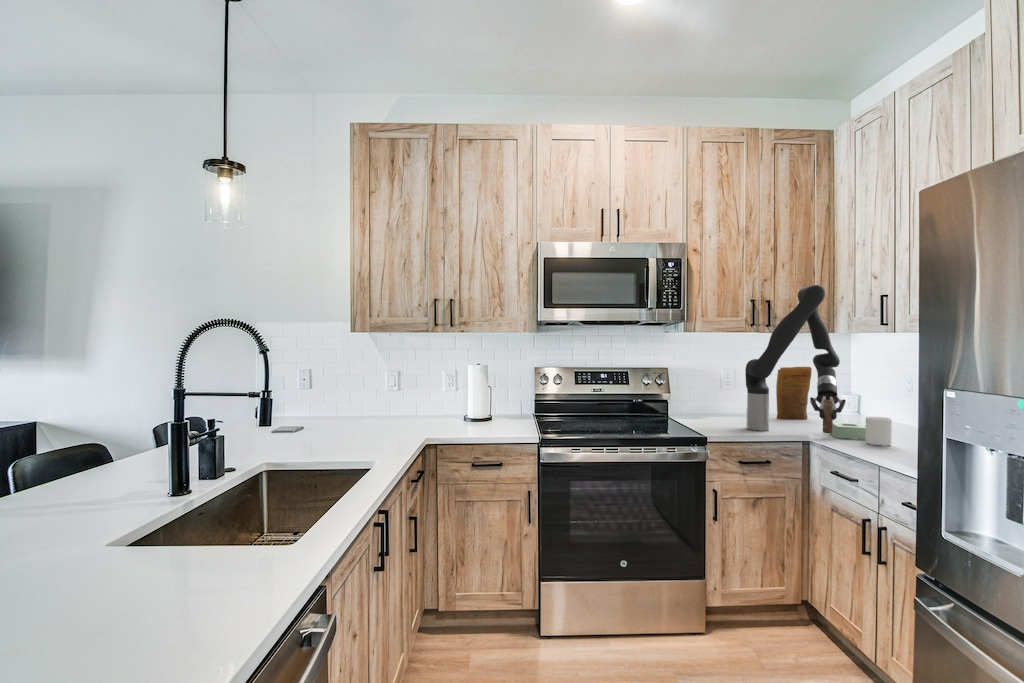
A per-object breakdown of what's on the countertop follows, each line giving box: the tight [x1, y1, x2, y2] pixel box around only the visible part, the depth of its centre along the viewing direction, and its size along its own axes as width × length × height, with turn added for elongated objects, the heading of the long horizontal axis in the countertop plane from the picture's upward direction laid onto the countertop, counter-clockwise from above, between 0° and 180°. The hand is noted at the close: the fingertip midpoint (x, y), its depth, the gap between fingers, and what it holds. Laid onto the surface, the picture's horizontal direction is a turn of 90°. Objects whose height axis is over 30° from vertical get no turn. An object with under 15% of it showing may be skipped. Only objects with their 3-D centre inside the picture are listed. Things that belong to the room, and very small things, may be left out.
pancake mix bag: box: [775, 366, 812, 420], centre depth 275 cm, size 7×19×28 cm, turn 88°
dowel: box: [822, 400, 834, 434], centre depth 222 cm, size 4×4×14 cm
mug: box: [865, 416, 893, 447], centre depth 212 cm, size 9×12×11 cm
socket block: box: [830, 421, 866, 440], centre depth 227 cm, size 12×12×5 cm
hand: (828, 418), depth 221 cm, fingers closed on dowel, 3 cm apart
